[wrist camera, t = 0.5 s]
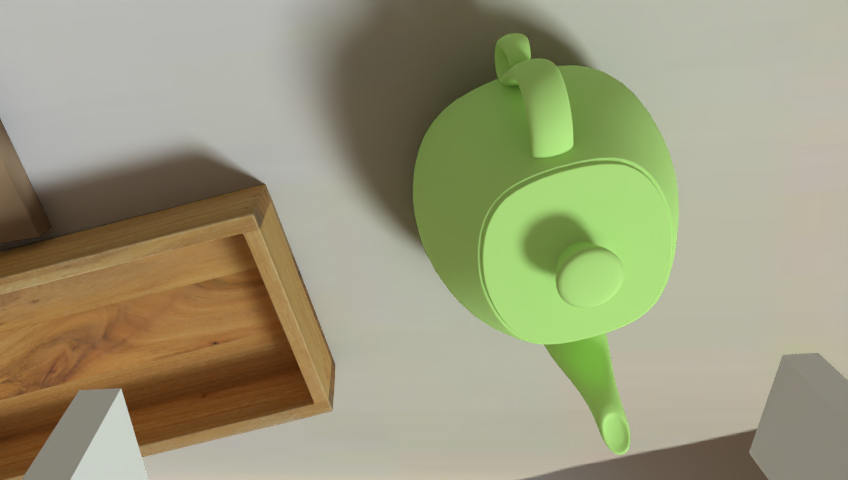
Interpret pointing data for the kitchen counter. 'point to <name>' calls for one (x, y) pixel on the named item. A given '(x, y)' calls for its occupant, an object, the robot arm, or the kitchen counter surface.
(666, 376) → the kitchen counter surface
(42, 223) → the walnut base
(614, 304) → the teapot
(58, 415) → the tray
